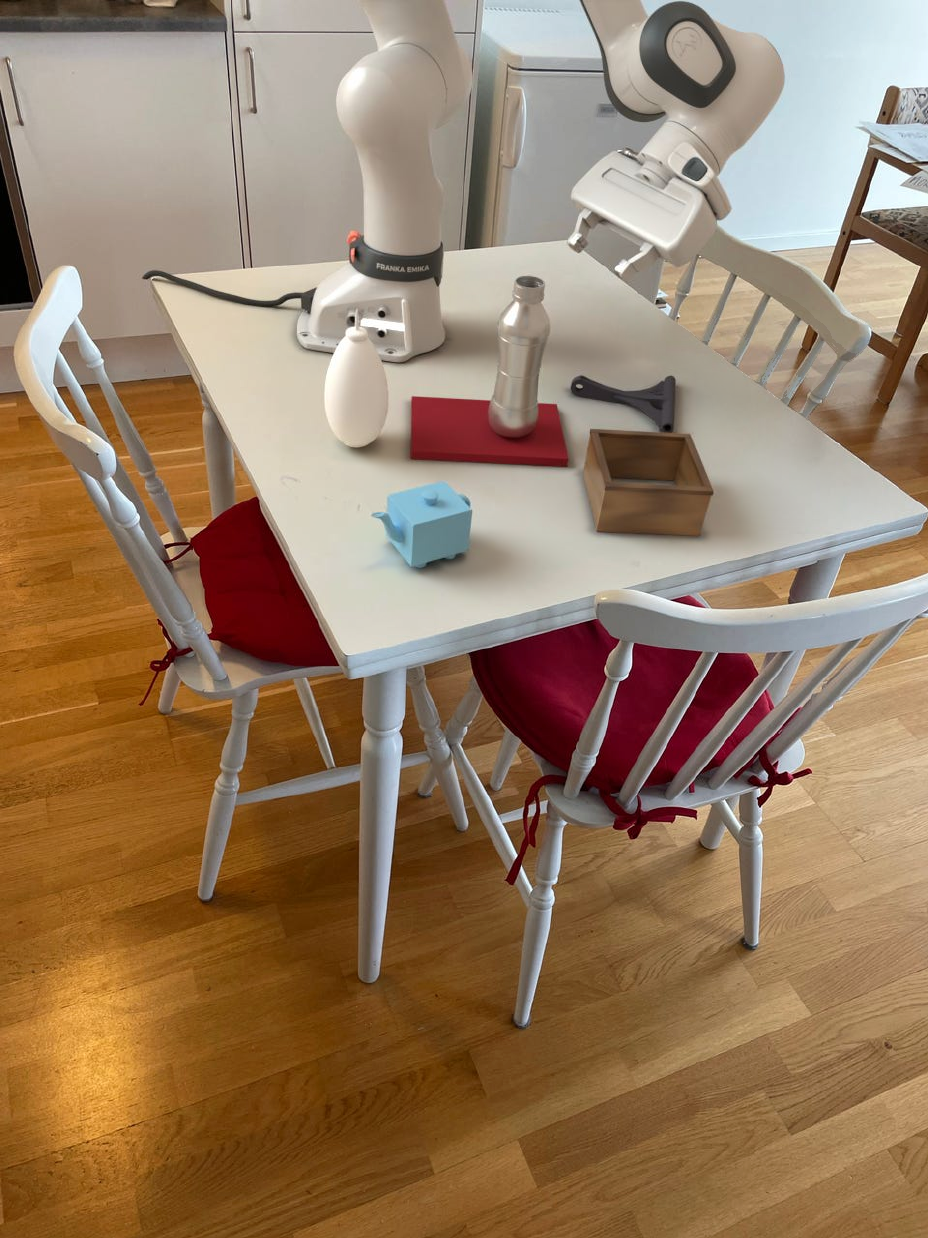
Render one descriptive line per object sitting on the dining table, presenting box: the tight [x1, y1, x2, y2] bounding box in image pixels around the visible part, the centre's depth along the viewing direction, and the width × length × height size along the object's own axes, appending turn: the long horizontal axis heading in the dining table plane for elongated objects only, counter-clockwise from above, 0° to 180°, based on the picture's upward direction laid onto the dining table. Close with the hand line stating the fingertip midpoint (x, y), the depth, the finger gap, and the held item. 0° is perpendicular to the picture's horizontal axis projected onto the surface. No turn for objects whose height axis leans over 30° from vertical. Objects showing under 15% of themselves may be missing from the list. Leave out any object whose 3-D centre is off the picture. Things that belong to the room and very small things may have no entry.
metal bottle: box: [488, 275, 551, 438], centre depth 119 cm, size 6×7×20 cm
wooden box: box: [582, 428, 715, 537], centre depth 116 cm, size 13×13×6 cm
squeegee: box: [570, 374, 677, 433], centre depth 136 cm, size 14×15×3 cm
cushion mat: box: [410, 395, 569, 467], centre depth 127 cm, size 20×14×1 cm
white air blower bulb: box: [323, 309, 389, 448], centre depth 117 cm, size 8×8×18 cm
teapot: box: [370, 480, 473, 569], centre depth 104 cm, size 12×6×8 cm, turn 120°
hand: (595, 262), depth 116 cm, fingers open, 8 cm apart
